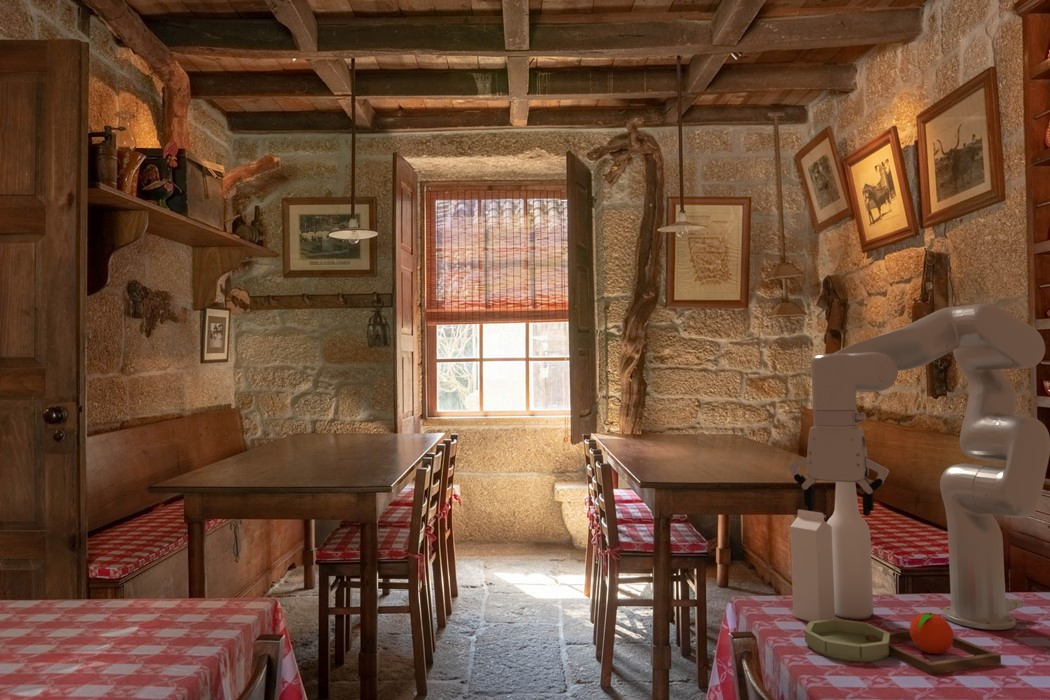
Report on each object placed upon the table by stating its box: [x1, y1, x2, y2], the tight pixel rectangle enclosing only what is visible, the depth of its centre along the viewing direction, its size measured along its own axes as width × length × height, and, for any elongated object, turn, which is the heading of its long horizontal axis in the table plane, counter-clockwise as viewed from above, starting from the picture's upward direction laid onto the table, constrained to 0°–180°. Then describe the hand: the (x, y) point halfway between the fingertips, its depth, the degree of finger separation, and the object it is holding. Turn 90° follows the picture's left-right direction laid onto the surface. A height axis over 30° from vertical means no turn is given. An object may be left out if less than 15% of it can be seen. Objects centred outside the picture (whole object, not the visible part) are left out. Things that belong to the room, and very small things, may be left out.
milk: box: [789, 509, 836, 622], centre depth 150 cm, size 6×6×22 cm
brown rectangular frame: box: [866, 629, 1002, 675], centre depth 130 cm, size 15×15×2 cm
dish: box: [804, 618, 891, 663], centre depth 133 cm, size 14×14×3 cm
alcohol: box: [826, 481, 874, 620], centre depth 153 cm, size 9×9×30 cm
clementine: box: [909, 612, 954, 655], centre depth 130 cm, size 8×7×7 cm
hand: (838, 512), depth 133 cm, fingers open, 9 cm apart
